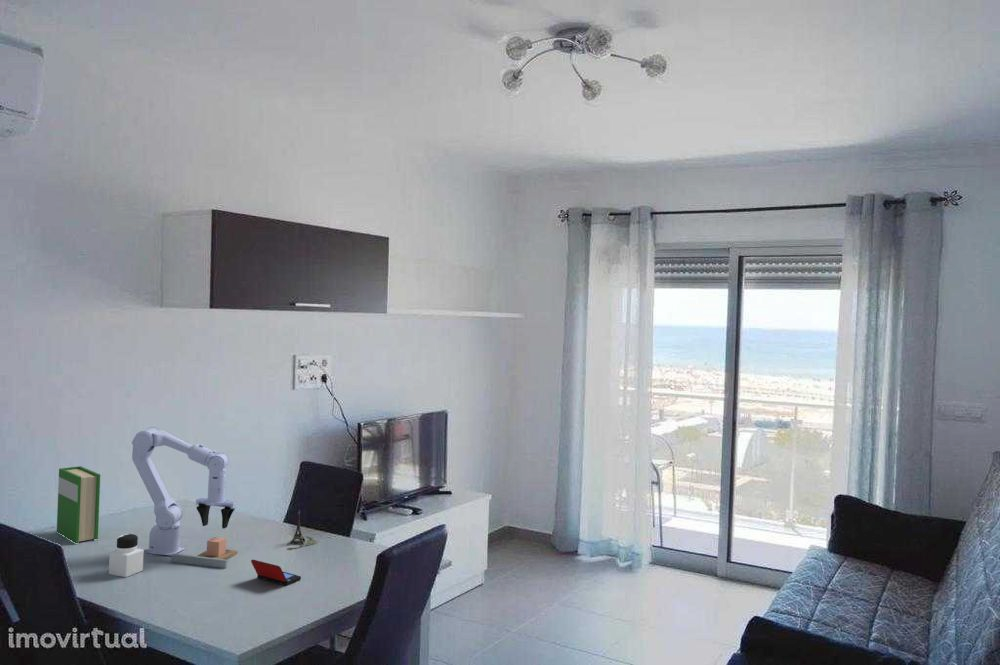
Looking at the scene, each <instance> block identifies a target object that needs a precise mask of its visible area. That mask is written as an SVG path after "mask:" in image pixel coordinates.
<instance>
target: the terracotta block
mask: <svg viewBox="0 0 1000 665" xmlns="http://www.w3.org/2000/svg"><path fill="white" fill-rule="evenodd" d="M226 549H227V538H224V537H217V536H216V537H215V536H214V537H213V538H212V537H211V538H210V539H207V541H206V551H207V555H209V556H217V557H219V556H221V555H222V554H224V553H226Z"/></svg>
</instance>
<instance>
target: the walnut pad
mask: <svg viewBox="0 0 1000 665" xmlns="http://www.w3.org/2000/svg"><path fill="white" fill-rule="evenodd" d="M237 554H238V550H235V549H227V548H226V553H224V554H222V555H221V556H219V557H217V556H209V555H207V550H205V551H203V552H201V553H200V554H198V555H196V556H200V557H208V558H217V559H225V560H229V559H231V558H232V557H234V556H236V555H237Z"/></svg>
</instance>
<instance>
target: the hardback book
mask: <svg viewBox="0 0 1000 665" xmlns="http://www.w3.org/2000/svg"><path fill="white" fill-rule="evenodd" d="M57 487H58V489H57V514H56V517H57V518H56V533H57V532H58V533H60V534H62V535H64V536H65V537H67V538H68V539H70V540H72V541H73V542H75V543H78V542H83V541H84V542H85V541H90V540H93V539H98V540H99V523H100V522H99V521H100V520H99V518H100V515H99V514H100V493H101V492H100V491H101V474H100V473H98V472H95V471H93V470H91V469H88V468H86V467H83V466H82V465H79V466H78V465H77V466H71V467H62V468H61V467H60V468H58V486H57Z"/></svg>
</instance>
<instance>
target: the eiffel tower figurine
mask: <svg viewBox="0 0 1000 665" xmlns="http://www.w3.org/2000/svg"><path fill="white" fill-rule="evenodd" d="M300 514H301V511H300V510H298V512H297V525H296V529H295V533H294V535H293V538H292V540H291V541H290V542H289V546H298V547H288V548H287V547H286V550H288V551H291V550H295V549H299V548H304V547H308V546H312V545H317V543H318V540H315V539H314V538H313V537H310V536H307V535H306V536H304V535H303V533H302V531H301V521H300V518H301V516H300ZM305 538H306V539H307V540H306V539H305Z"/></svg>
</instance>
